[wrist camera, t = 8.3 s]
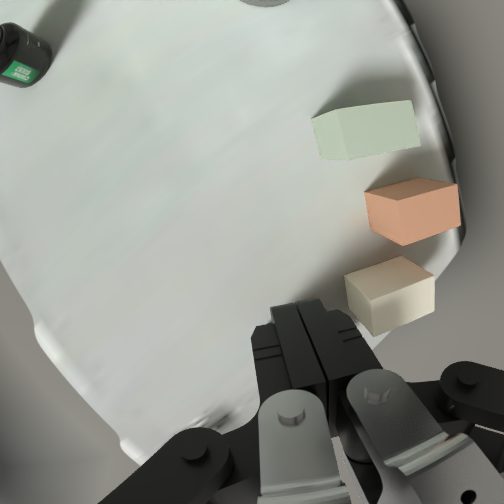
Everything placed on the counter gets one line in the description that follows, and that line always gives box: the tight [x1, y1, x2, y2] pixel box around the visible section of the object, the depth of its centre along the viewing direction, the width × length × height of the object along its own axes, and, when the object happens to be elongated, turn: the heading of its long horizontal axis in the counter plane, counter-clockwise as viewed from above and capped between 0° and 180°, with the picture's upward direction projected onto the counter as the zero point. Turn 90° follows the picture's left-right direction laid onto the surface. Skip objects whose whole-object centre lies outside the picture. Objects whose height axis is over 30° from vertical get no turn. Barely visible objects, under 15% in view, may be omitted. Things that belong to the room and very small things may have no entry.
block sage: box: [311, 100, 421, 160], centre depth 31 cm, size 5×9×8 cm, turn 105°
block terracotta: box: [364, 178, 461, 246], centre depth 34 cm, size 5×9×8 cm, turn 105°
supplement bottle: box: [0, 22, 51, 88], centre depth 21 cm, size 7×7×12 cm
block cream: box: [344, 256, 435, 337], centre depth 37 cm, size 5×9×8 cm, turn 105°
